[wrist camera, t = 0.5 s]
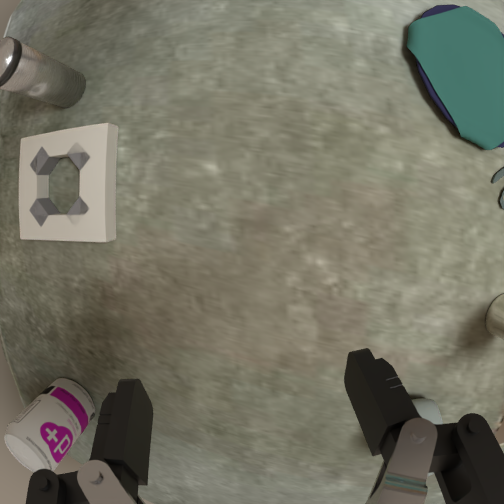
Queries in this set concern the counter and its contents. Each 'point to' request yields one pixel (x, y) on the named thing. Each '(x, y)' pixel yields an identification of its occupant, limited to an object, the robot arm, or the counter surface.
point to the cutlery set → (463, 71)
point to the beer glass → (496, 317)
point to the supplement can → (50, 425)
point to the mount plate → (91, 184)
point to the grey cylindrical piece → (38, 75)
